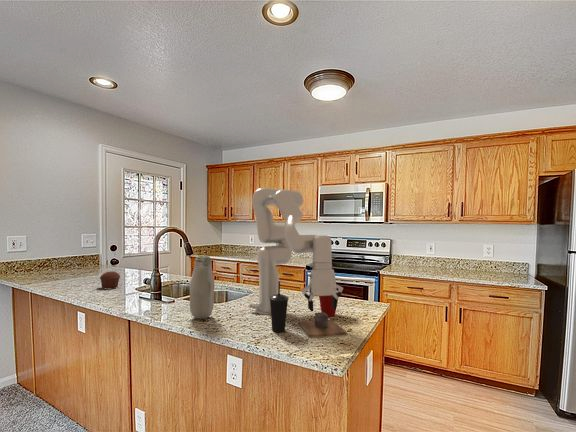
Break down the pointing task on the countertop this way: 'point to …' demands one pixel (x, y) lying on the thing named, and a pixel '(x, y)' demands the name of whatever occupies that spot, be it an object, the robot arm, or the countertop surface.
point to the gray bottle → (202, 288)
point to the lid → (321, 327)
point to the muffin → (110, 279)
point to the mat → (318, 337)
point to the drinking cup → (278, 311)
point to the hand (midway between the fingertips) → (322, 309)
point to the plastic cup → (327, 305)
